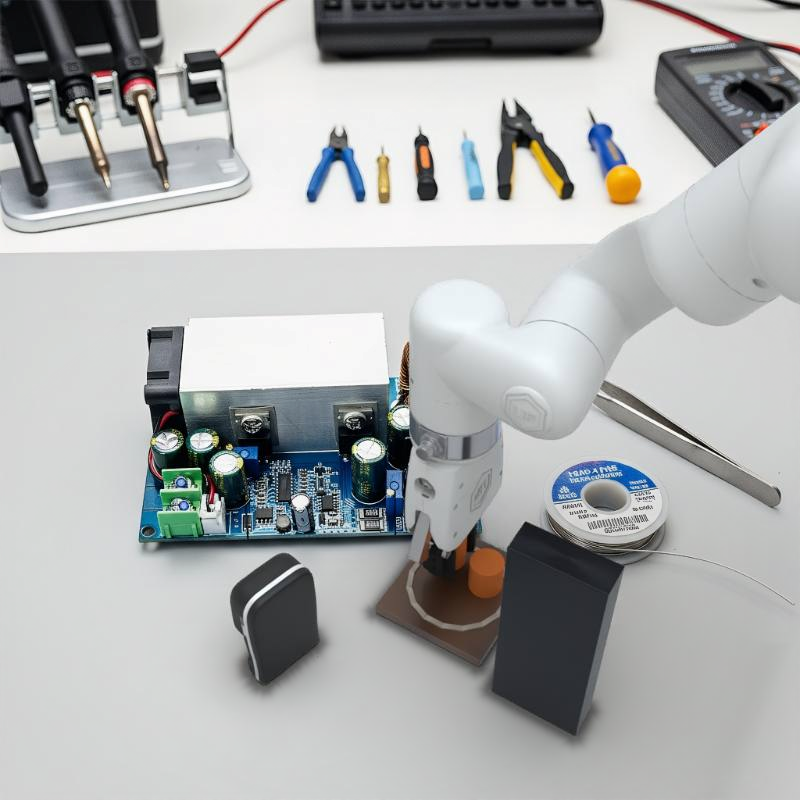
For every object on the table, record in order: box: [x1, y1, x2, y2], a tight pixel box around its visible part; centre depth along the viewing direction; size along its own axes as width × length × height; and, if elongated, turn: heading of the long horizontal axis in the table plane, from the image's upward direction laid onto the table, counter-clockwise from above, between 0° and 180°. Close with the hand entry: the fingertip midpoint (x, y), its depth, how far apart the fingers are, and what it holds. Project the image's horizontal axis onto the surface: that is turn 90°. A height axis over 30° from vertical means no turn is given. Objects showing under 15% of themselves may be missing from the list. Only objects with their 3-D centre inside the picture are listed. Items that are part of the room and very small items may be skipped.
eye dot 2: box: [468, 548, 505, 598], centre depth 92 cm, size 3×3×4 cm
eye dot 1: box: [454, 536, 467, 570], centre depth 93 cm, size 3×3×4 cm
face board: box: [375, 537, 507, 668], centre depth 93 cm, size 11×12×1 cm
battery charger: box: [229, 552, 320, 685], centre depth 85 cm, size 7×4×11 cm, turn 134°
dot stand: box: [491, 520, 626, 736], centre depth 79 cm, size 8×3×20 cm, turn 58°
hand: (449, 557), depth 94 cm, fingers closed on eye dot 1, 3 cm apart
